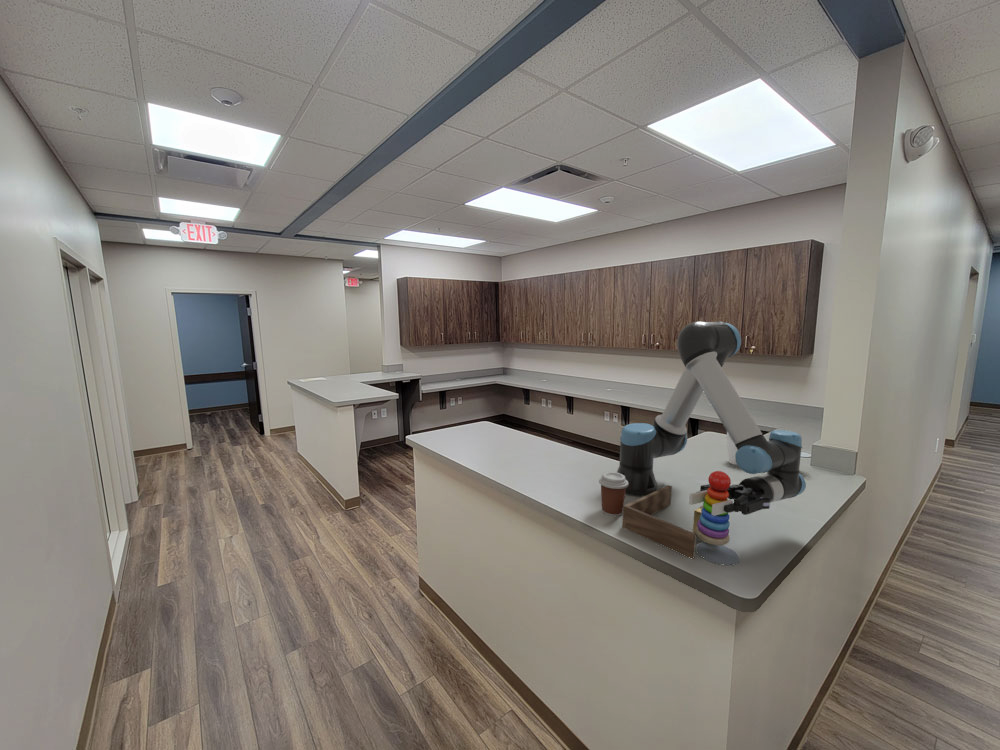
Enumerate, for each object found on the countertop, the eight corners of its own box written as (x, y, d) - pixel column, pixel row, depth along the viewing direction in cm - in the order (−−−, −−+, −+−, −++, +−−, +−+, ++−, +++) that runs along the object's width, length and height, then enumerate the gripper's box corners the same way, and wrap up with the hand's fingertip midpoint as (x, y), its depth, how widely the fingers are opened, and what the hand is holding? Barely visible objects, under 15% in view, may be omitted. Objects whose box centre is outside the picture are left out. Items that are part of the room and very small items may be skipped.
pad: (700, 561, 101) (700, 559, 101) (692, 541, 111) (692, 539, 111) (744, 568, 98) (744, 566, 98) (732, 547, 108) (733, 545, 108)
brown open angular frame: (691, 559, 102) (693, 535, 101) (622, 526, 118) (623, 505, 117) (733, 528, 118) (735, 507, 117) (667, 503, 134) (668, 485, 133)
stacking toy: (734, 548, 101) (743, 480, 97) (701, 545, 102) (709, 478, 99) (722, 530, 109) (730, 467, 105) (691, 527, 110) (698, 465, 106)
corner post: (703, 535, 114) (705, 514, 113) (692, 531, 116) (694, 510, 115) (708, 532, 115) (709, 511, 115) (697, 528, 118) (699, 507, 117)
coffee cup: (592, 511, 127) (593, 475, 126) (605, 502, 134) (607, 468, 133) (619, 521, 121) (621, 483, 120) (631, 511, 128) (633, 475, 127)
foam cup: (754, 466, 171) (756, 437, 169) (732, 466, 171) (735, 437, 169) (741, 459, 180) (743, 431, 178) (720, 459, 180) (722, 431, 179)
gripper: (795, 517, 103) (735, 536, 93) (727, 490, 120) (671, 503, 111) (798, 490, 102) (738, 505, 93) (729, 466, 119) (672, 477, 110)
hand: (701, 504), depth 102 cm, fingers closed on stacking toy, 6 cm apart
